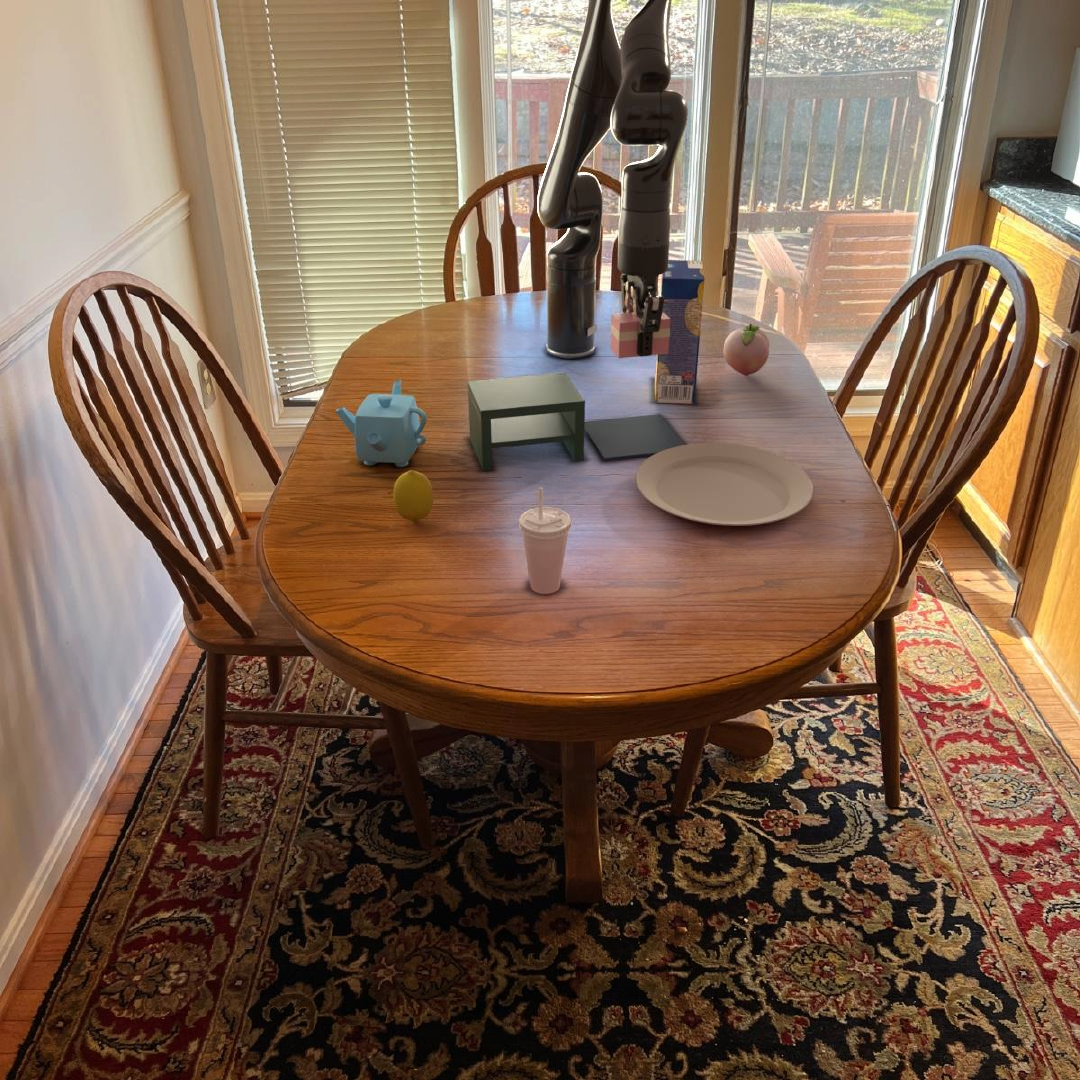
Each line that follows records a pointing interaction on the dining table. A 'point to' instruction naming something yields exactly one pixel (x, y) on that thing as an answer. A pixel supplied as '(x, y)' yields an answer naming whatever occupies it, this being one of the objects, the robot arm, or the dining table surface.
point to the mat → (631, 436)
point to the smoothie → (545, 545)
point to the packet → (636, 335)
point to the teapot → (386, 427)
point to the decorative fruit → (746, 349)
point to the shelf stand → (525, 414)
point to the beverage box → (680, 332)
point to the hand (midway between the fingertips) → (639, 349)
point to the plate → (724, 484)
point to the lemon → (413, 496)
